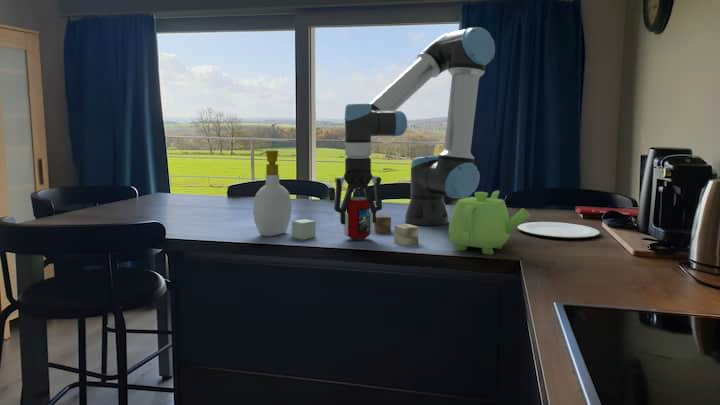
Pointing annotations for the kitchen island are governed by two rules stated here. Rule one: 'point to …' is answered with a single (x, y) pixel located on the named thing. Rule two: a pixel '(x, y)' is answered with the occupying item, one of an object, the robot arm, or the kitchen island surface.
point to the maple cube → (406, 234)
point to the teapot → (483, 222)
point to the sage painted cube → (303, 229)
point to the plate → (558, 230)
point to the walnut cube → (382, 224)
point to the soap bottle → (272, 201)
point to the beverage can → (358, 218)
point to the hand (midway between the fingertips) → (358, 234)
